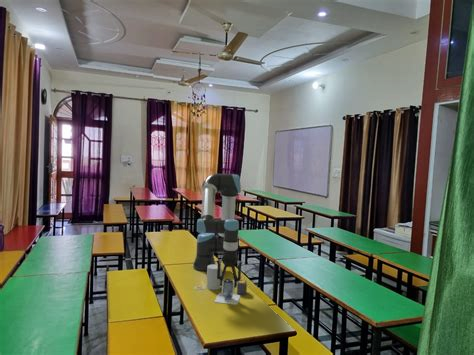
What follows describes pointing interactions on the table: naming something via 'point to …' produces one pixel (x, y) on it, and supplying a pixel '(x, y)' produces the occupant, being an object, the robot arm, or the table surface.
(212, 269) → the cup
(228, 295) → the cylinder
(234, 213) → the robot arm
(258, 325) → the table surface
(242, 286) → the relay block
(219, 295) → the mat
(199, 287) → the label card
